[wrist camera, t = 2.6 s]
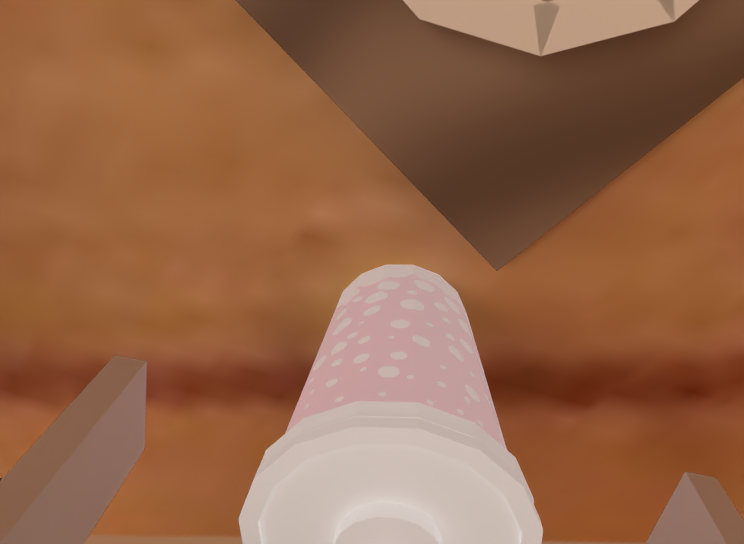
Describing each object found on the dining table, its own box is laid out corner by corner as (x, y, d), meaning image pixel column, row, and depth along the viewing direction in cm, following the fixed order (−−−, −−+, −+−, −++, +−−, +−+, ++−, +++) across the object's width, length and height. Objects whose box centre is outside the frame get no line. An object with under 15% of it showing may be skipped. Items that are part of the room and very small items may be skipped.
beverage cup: (423, 424, 21) (432, 1032, 9) (280, 343, 20) (52, 899, 8) (527, 303, 19) (753, 899, 6) (372, 206, 18) (262, 681, 5)
